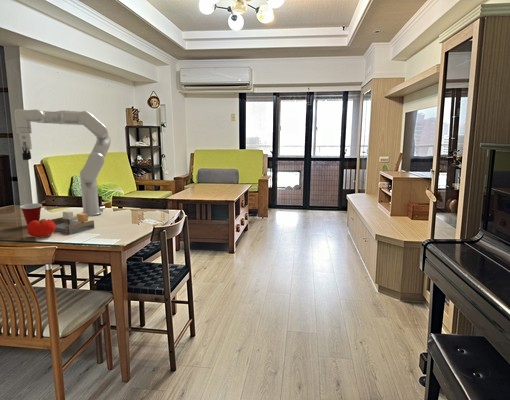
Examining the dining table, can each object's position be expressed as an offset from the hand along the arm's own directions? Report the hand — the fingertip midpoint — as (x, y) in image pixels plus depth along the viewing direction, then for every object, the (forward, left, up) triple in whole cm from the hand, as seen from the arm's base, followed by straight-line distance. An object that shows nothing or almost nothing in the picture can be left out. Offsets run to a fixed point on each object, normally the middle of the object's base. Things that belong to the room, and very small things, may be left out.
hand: (27, 159), depth 211 cm
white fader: (0, +34, -34) cm, 49 cm away
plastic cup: (+9, +15, -38) cm, 42 cm away
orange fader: (0, +47, -35) cm, 59 cm away
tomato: (+20, +44, -38) cm, 61 cm away
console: (+4, +41, -37) cm, 56 cm away
